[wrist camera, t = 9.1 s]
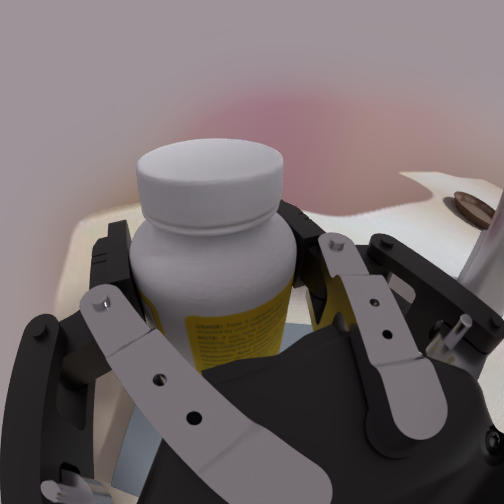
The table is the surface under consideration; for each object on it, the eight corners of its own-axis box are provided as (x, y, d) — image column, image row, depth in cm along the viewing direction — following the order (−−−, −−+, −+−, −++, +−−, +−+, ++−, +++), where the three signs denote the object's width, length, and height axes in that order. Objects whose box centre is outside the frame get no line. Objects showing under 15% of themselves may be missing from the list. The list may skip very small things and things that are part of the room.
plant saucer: (505, 229, 50) (509, 220, 48) (494, 243, 43) (499, 232, 42) (462, 198, 62) (465, 189, 60) (441, 204, 56) (445, 194, 54)
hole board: (174, 320, 27) (170, 308, 25) (312, 337, 26) (316, 325, 25) (120, 487, 12) (110, 485, 11) (307, 520, 12) (313, 521, 10)
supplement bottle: (290, 337, 14) (327, 147, 8) (249, 426, 10) (273, 223, 4) (200, 305, 16) (186, 129, 10) (146, 376, 11) (68, 179, 6)
